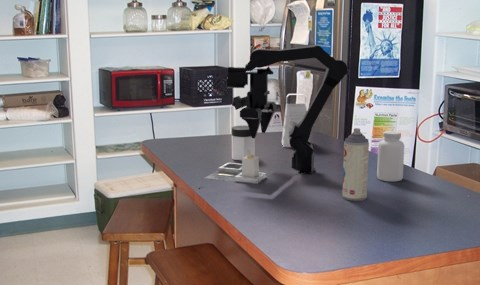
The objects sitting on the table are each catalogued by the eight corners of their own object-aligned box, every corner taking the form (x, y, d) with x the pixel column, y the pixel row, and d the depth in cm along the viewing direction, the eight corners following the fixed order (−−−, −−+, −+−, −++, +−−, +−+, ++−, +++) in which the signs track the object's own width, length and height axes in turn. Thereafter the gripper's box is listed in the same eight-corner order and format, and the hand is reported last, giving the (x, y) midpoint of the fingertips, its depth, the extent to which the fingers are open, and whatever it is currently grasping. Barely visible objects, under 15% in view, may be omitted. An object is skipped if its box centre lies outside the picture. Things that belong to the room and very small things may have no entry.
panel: (275, 175, 203) (275, 166, 202) (258, 188, 188) (258, 179, 188) (224, 169, 209) (224, 162, 209) (204, 181, 195) (203, 173, 194)
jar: (239, 164, 216) (238, 130, 213) (226, 160, 222) (226, 127, 220) (260, 161, 221) (260, 128, 218) (247, 156, 227) (247, 124, 225)
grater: (309, 147, 243) (311, 96, 239) (282, 147, 243) (283, 96, 239) (307, 141, 253) (308, 92, 249) (281, 141, 253) (282, 92, 249)
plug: (258, 178, 194) (258, 154, 192) (254, 181, 190) (254, 157, 189) (246, 177, 196) (246, 153, 194) (242, 180, 192) (241, 156, 190)
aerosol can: (345, 193, 183) (347, 125, 178) (368, 195, 180) (371, 127, 176) (339, 199, 176) (341, 130, 172) (363, 202, 174) (366, 131, 170)
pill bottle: (404, 177, 200) (407, 131, 196) (399, 183, 192) (402, 135, 189) (379, 174, 203) (382, 129, 200) (374, 180, 196) (376, 133, 193)
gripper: (246, 83, 213) (246, 128, 217) (224, 90, 197) (224, 139, 200) (277, 85, 209) (276, 131, 213) (257, 92, 192) (257, 141, 196)
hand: (258, 135), depth 205 cm, fingers open, 9 cm apart
